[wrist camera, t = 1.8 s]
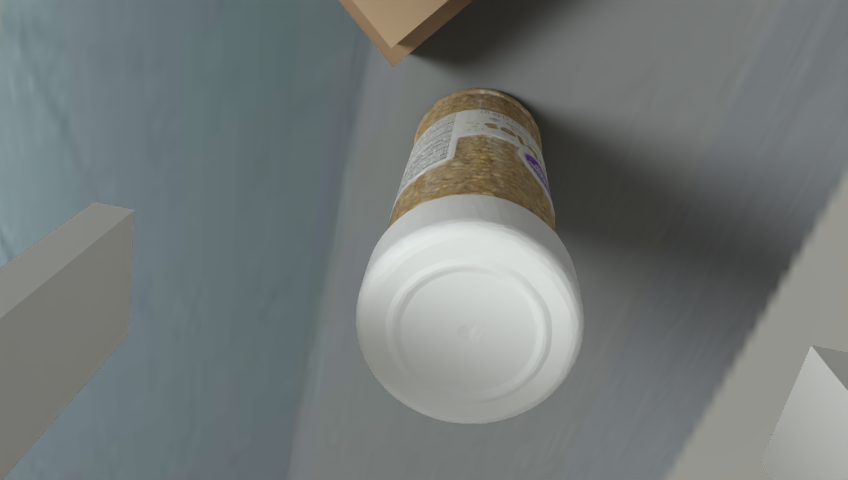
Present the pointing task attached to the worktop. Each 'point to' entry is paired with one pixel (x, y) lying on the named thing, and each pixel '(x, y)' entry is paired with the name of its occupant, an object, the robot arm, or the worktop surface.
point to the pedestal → (401, 22)
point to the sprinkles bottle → (472, 270)
